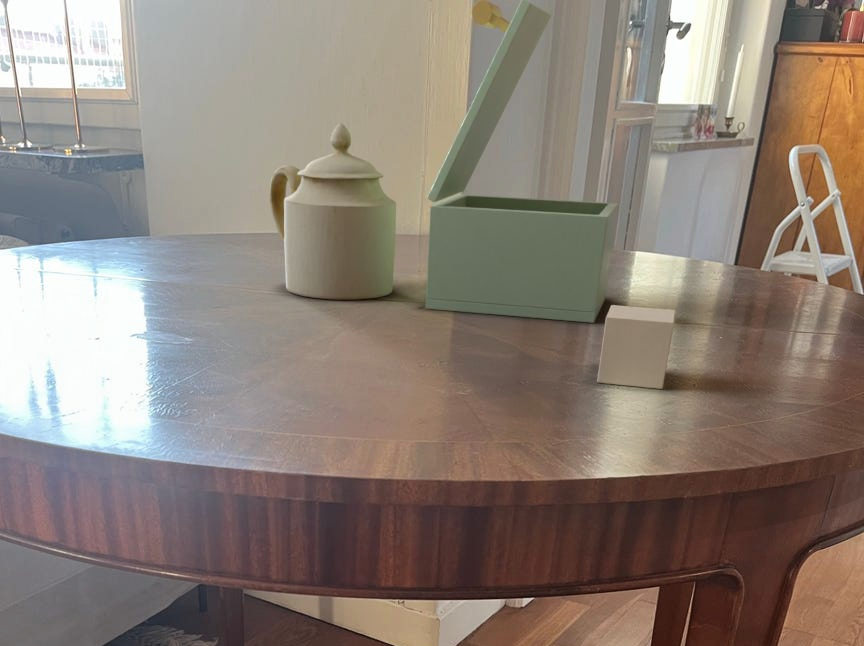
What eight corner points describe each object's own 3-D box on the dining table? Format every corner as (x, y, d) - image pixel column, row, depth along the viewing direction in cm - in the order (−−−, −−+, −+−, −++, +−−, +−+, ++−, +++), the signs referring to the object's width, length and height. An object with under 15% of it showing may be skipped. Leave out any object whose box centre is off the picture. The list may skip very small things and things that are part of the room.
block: (664, 373, 71) (675, 309, 69) (662, 389, 67) (674, 322, 65) (602, 367, 72) (611, 304, 70) (596, 382, 68) (606, 316, 66)
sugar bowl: (232, 290, 95) (223, 120, 88) (278, 274, 104) (274, 118, 97) (372, 304, 91) (375, 126, 84) (407, 286, 100) (413, 124, 93)
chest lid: (551, 15, 87) (504, -14, 87) (530, 3, 76) (477, -30, 76) (463, 191, 96) (421, 165, 96) (434, 202, 85) (386, 173, 85)
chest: (605, 298, 97) (618, 203, 93) (593, 323, 86) (608, 216, 82) (454, 286, 101) (460, 194, 96) (425, 308, 90) (430, 206, 86)
